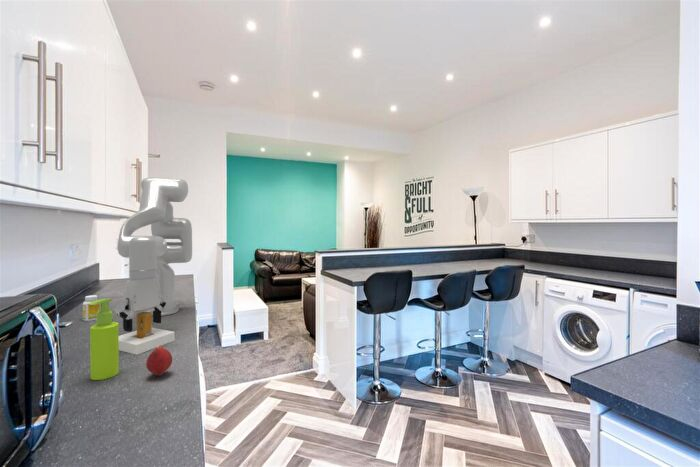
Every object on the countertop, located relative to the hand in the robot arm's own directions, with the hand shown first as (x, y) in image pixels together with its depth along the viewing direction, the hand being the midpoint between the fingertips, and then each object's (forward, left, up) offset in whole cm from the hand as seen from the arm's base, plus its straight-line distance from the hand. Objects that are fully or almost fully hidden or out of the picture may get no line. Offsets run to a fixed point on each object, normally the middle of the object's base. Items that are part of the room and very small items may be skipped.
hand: (143, 326), depth 105 cm
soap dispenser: (+19, +12, -6) cm, 23 cm away
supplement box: (0, 0, -6) cm, 6 cm away
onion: (+13, +25, -6) cm, 29 cm away
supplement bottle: (-10, -46, -6) cm, 47 cm away
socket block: (0, 0, -6) cm, 6 cm away
